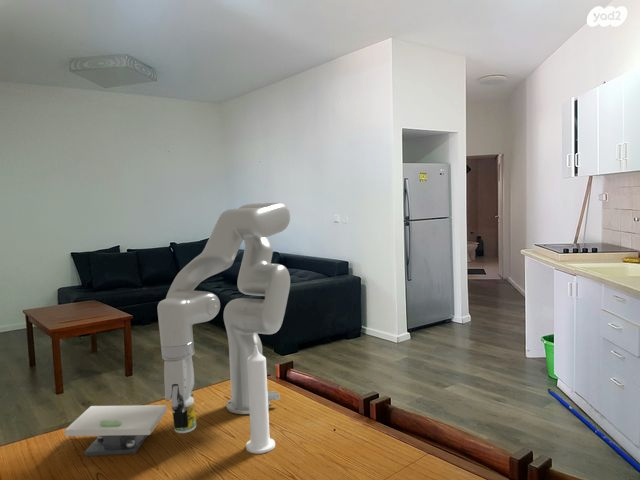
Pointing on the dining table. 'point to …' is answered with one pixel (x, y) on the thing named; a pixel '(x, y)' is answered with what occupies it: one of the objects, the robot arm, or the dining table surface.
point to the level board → (117, 420)
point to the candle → (258, 405)
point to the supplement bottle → (191, 415)
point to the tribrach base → (115, 445)
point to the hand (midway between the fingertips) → (184, 420)
